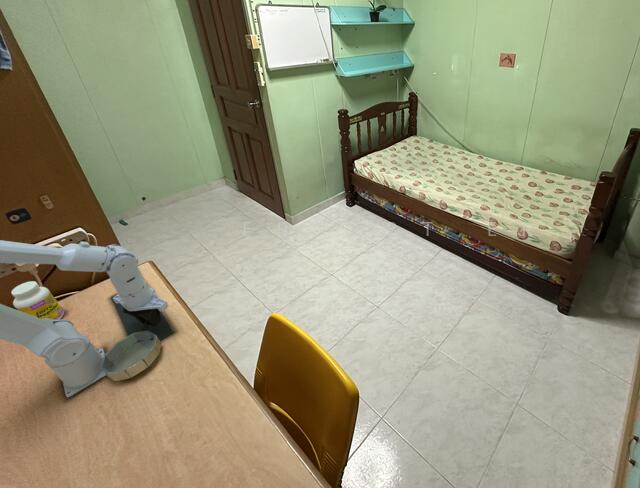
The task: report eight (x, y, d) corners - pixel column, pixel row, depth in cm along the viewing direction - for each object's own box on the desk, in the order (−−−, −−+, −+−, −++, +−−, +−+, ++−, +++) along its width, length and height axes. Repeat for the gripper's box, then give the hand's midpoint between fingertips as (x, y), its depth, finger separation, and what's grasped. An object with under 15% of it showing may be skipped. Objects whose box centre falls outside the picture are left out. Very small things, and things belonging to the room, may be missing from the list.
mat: (111, 297, 96) (110, 297, 96) (143, 282, 102) (143, 281, 102) (137, 354, 80) (136, 353, 80) (173, 332, 86) (173, 332, 86)
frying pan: (141, 319, 90) (134, 309, 88) (183, 311, 91) (177, 301, 89) (99, 388, 73) (89, 378, 71) (151, 377, 75) (143, 366, 73)
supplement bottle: (44, 332, 85) (17, 299, 79) (25, 327, 87) (-3, 295, 80) (71, 312, 91) (48, 280, 85) (53, 308, 92) (29, 276, 86)
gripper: (170, 280, 82) (186, 315, 88) (123, 272, 84) (142, 306, 90) (146, 301, 76) (165, 337, 82) (96, 292, 78) (119, 327, 84)
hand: (152, 322), depth 86 cm, fingers closed on frying pan, 2 cm apart
